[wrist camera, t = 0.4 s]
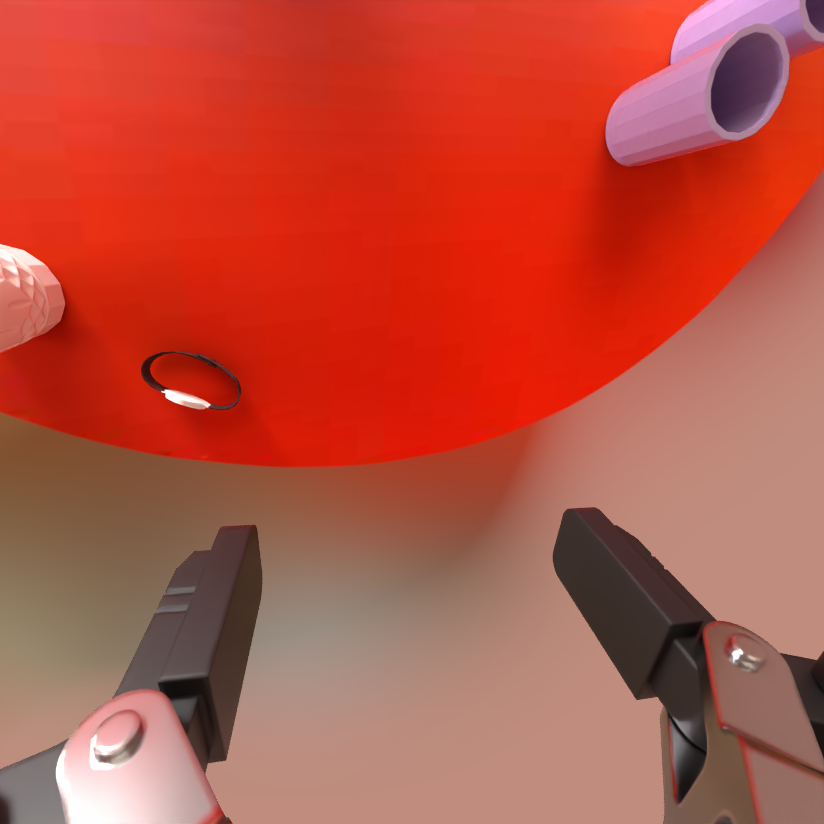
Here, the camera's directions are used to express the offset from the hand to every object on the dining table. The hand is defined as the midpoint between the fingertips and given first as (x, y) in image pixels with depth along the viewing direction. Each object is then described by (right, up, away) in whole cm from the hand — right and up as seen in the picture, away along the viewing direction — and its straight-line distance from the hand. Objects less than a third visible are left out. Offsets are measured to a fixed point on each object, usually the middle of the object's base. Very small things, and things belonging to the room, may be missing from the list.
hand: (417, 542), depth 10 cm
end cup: (+19, +28, +24) cm, 41 cm away
